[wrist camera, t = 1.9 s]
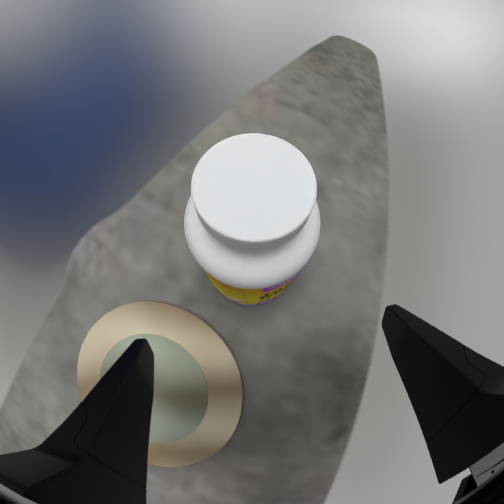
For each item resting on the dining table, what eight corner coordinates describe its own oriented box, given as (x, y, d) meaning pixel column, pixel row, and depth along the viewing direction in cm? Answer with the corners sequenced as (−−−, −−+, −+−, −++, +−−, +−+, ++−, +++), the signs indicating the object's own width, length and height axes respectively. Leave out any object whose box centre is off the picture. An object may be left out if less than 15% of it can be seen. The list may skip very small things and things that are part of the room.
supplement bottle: (257, 323, 21) (269, 315, 9) (192, 270, 22) (128, 198, 10) (308, 257, 22) (370, 174, 10) (244, 209, 23) (241, 95, 11)
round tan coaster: (262, 448, 18) (263, 455, 17) (111, 462, 17) (105, 467, 16) (217, 285, 22) (215, 282, 20) (71, 318, 21) (62, 317, 19)
